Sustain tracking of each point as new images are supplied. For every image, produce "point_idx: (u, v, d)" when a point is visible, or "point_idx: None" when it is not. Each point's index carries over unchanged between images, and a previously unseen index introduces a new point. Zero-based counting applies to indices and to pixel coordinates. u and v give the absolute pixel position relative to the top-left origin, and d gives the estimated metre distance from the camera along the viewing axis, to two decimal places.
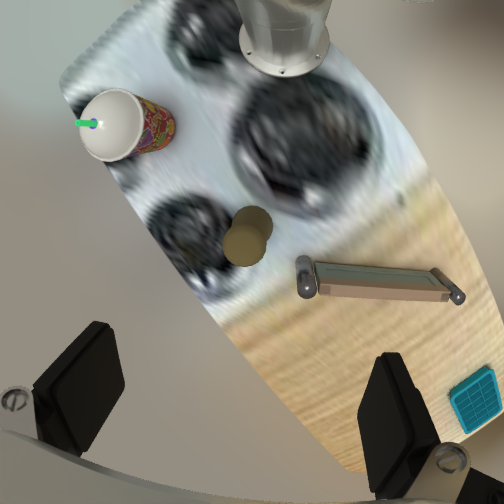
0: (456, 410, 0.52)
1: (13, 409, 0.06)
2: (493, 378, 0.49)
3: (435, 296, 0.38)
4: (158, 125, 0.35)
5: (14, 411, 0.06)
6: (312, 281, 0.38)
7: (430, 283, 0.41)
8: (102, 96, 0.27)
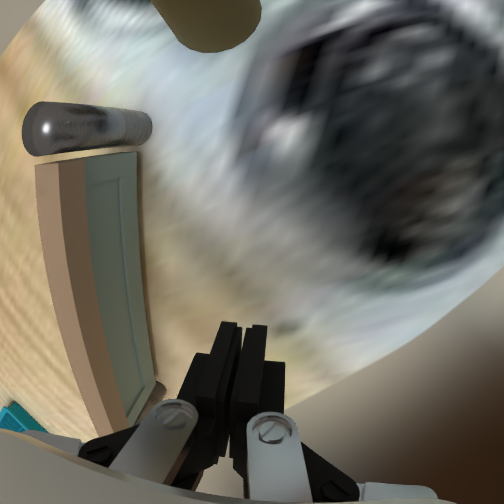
0: (0, 415, 0.33)
1: (165, 424, 0.06)
2: None
3: (103, 428, 0.17)
4: None
5: (164, 427, 0.06)
6: (59, 138, 0.11)
7: (130, 403, 0.20)
8: None
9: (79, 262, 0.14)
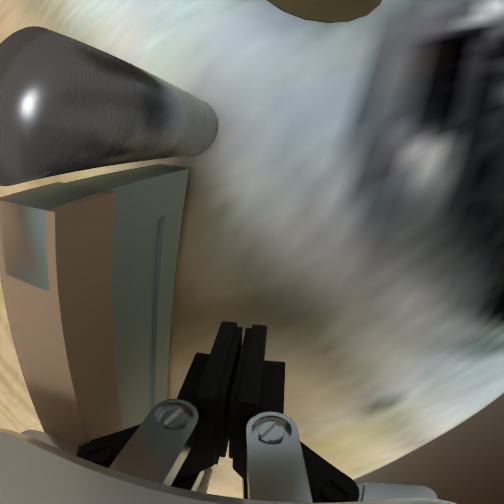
0: None
1: (165, 424, 0.06)
2: None
3: None
4: None
5: (165, 427, 0.06)
6: (70, 132, 0.03)
7: None
8: None
9: (99, 399, 0.07)
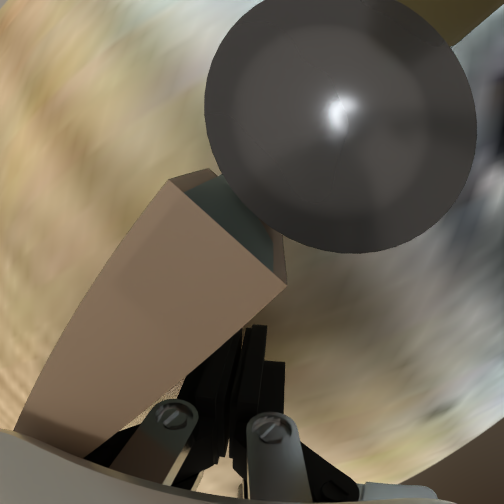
0: None
1: (165, 424, 0.06)
2: None
3: None
4: None
5: (165, 427, 0.06)
6: None
7: None
8: None
9: None
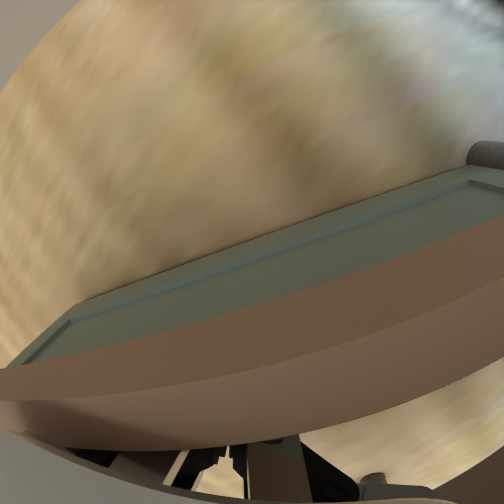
0: None
1: None
2: None
3: (5, 421, 0.06)
4: None
5: None
6: None
7: None
8: None
9: None
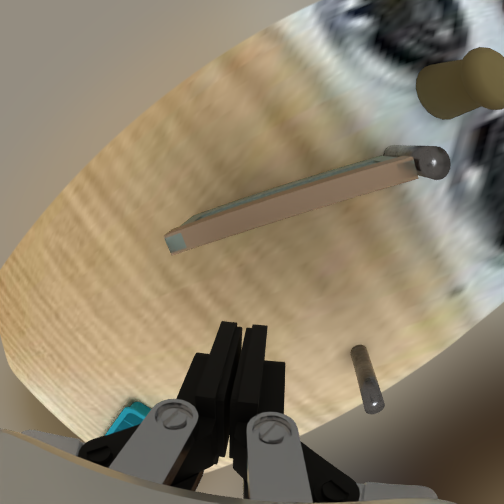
0: (117, 422, 0.41)
1: (165, 424, 0.06)
2: None
3: (196, 235, 0.23)
4: None
5: (164, 427, 0.06)
6: None
7: None
8: None
9: None
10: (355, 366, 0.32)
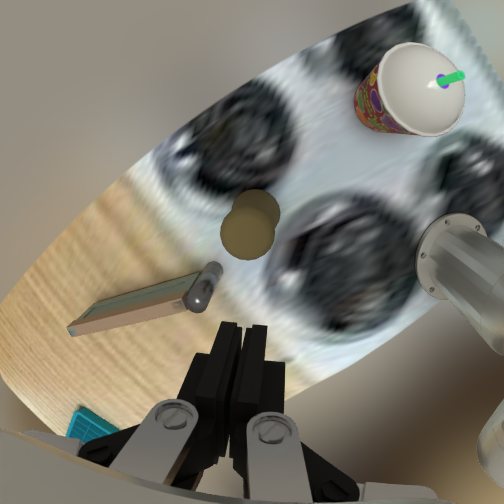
0: (72, 421, 0.55)
1: (165, 424, 0.06)
2: None
3: (80, 329, 0.37)
4: (400, 133, 0.26)
5: (164, 427, 0.06)
6: None
7: None
8: None
9: None
10: None
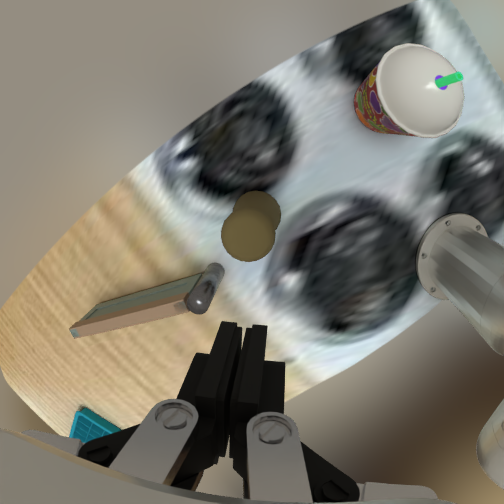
0: (74, 422, 0.55)
1: (165, 424, 0.06)
2: None
3: (82, 331, 0.37)
4: (400, 134, 0.26)
5: (164, 427, 0.06)
6: (207, 308, 0.34)
7: None
8: (463, 94, 0.18)
9: None
10: None
